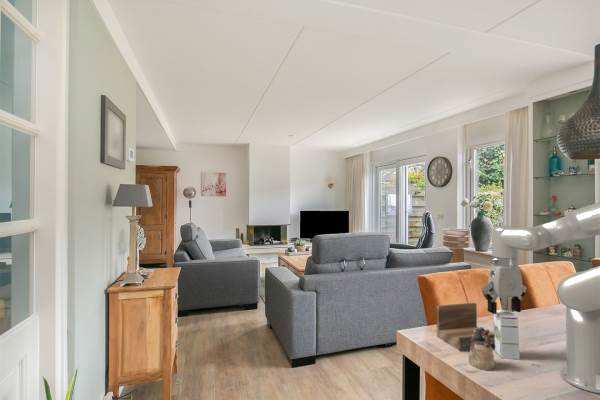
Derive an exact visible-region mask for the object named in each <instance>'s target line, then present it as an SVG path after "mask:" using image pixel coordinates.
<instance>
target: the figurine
mask: <svg viewBox="0 0 600 400" xmlns="http://www.w3.org/2000/svg"><path fill="white" fill-rule="evenodd" d="M477 327H478V328H476V329H475V330H474V331H473V334H472V335H471V336H472V339H471V340H470V342H471V343H472V344H471V347H470V350H469V355H468V363H469V365H470V366H471V367H473V368H475V369H479V370H483V371H491V370H494V369H495V363H496V362H495V358H494V352H493V348H491V345H490V344H491V338H490V337H489V335H488V334H489V333H491V332H490V330H489V329H486V330H485V328H484V327H483V326H477ZM485 339H486V340H487V341H486V340H485Z"/></svg>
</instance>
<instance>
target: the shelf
mask: <svg viewBox="0 0 600 400" xmlns="http://www.w3.org/2000/svg"><path fill="white" fill-rule="evenodd" d="M477 307H478V306H477V303H476V302H466V303H453V304H442V305H441V304H439V305H436V337H437V338H438V339H440V340H442V341H443V342H445V343H447V344H448V345H450V346H452V347H453V348H454V349H456V350H458V351H459V352H466V351H467V352H469V351H470V347H471V344H472V343H471V342H470V340H471V339H472V336H471V335H472V334H473V331H474V330H475V329H476V328H478V327H479V326H478V324H477V321H478V318H477V317H478V315H477V313H478V312H477ZM488 335H489V337H490V338H491V344H490V345H491V348H492V349H495V339H494V333H492V332H489V334H488ZM485 340H486V339H485ZM486 341H487V340H486Z"/></svg>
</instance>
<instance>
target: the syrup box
mask: <svg viewBox="0 0 600 400" xmlns="http://www.w3.org/2000/svg"><path fill="white" fill-rule="evenodd" d="M493 328H494V329H493V330H494V332H493V334H494V339H495V348H494V351H495V353H496V354H498V356H499V357H500V358H502V359H507V360H509V359H510V360H520V335H519V333H520V330H519V316H518V315H517V314H516V313H514V312H513V311H512V310H507V309H497V313H496V314H493Z"/></svg>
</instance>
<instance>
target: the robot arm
mask: <svg viewBox="0 0 600 400" xmlns="http://www.w3.org/2000/svg"><path fill="white" fill-rule="evenodd" d="M596 236H600V201H599V202H596V203H592V204H589V205H586V206H584V207H581V208H577V209H574V210H572V211H571V212H569V213H568V214H567V215H565V216H563V217H560V218H557V219H555V220H552V221H549V222H545V223H541V224H539V225H536V226H529V227H515V226H511V225H510V226H508V225H496V226H493V227H492V231H491V258H490V260H489V261H490V263H491V265H490V267H489V270H488V271H489V272H488V280H487V281H488V282H487V284H485V285H484V286H483V287H481V289H480V290H481V292H482V294H483V297H484V298H485V300H487V311H488V313H490V314H493V315H494V314H496V313H497V310H498V309H497V307H498V306H497V302H496V300H497V299H498V298H510V297H511V299H510V300H511V301H510V303H511V305H510V306H511V307H510V309H511V311H515V312H517V313H521V312H522V311H521V310H522V307H521V306H522V304H521V303H522V301H523V299H524V298H523V297H524V296H525V295H526V291H527V286H525V285H524V284H523V276H522V271H521V268H520V266H519V250H521V251H524V252H534V251H537V250H541V249H545V248H549V247H553V246H557V245H560V244H563V243H567V242H572V241H575V240H581V239H589V238H591V237H593V238H594V237H596ZM556 296H557V298H558V299H559V301H560V303H562V305H563V306H565V308H566V309H565V310H566V311H565V334H566V336H565V340H566V341H565V342H566V345H565V346H566V349H565V350H566V367H563V368H561V369H560V371H559V374H560V377H561V378H562V379H563V380H564V381H565V382H567V383H568V384H571V385H572V386H574V387H577V388H579V389H582V390H585V391H588V392H591V393H595V394H600V265H598V266H595V267H591V268H589V269H587V270H584V271H578V272H575V273H573V274H570V275H568V276H567V277H565V278H563V279H561V281H559V283H558V284H557V287H556Z"/></svg>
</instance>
